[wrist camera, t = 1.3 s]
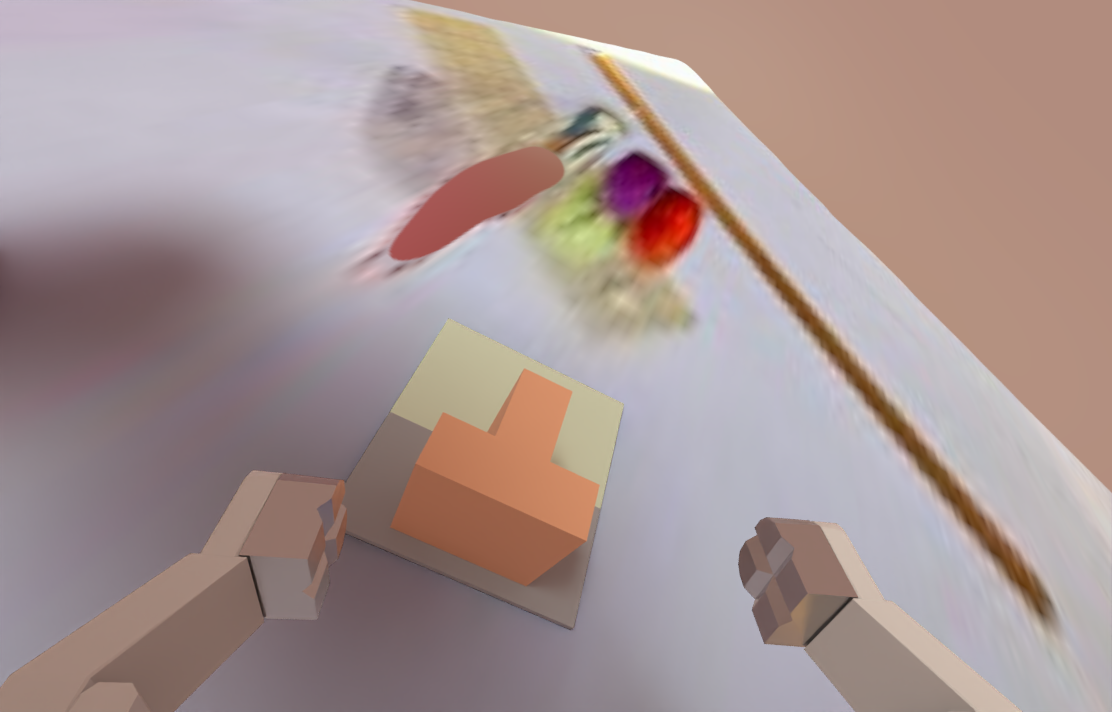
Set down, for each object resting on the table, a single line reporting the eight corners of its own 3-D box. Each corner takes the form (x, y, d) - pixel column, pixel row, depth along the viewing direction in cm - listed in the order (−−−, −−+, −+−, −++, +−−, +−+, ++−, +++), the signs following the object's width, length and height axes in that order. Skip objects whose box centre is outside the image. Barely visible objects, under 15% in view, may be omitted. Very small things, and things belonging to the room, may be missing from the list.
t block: (389, 527, 34) (415, 463, 26) (445, 421, 40) (478, 345, 32) (525, 586, 35) (586, 540, 27) (559, 474, 41) (616, 412, 33)
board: (321, 523, 33) (322, 519, 32) (447, 322, 46) (448, 318, 46) (570, 629, 35) (573, 628, 34) (621, 407, 48) (623, 404, 48)
